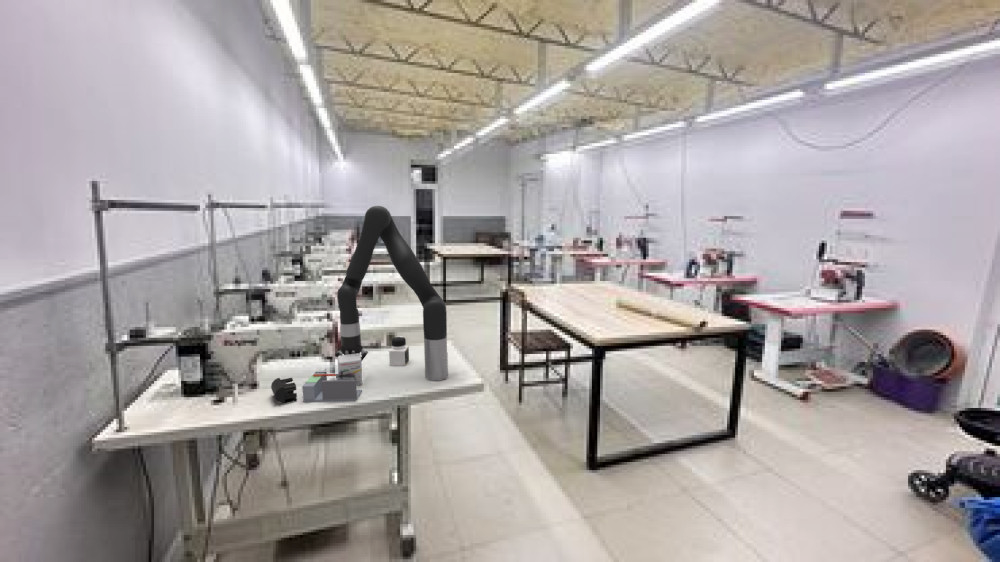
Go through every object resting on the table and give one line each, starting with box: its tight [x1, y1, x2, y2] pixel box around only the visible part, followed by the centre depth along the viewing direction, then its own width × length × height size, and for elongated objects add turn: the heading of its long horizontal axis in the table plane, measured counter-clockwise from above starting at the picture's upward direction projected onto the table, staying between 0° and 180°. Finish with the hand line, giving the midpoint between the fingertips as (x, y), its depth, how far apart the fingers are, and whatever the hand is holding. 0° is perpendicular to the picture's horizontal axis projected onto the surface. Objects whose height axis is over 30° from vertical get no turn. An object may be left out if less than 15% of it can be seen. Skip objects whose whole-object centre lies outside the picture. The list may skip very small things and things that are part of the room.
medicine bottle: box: [388, 335, 410, 367], centre depth 193 cm, size 7×7×12 cm
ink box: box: [337, 353, 363, 386], centre depth 169 cm, size 8×5×12 cm, turn 114°
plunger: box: [312, 373, 355, 380], centre depth 164 cm, size 15×4×6 cm, turn 93°
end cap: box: [270, 377, 298, 405], centre depth 158 cm, size 10×7×7 cm
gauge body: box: [301, 371, 363, 403], centre depth 162 cm, size 19×14×8 cm
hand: (353, 374), depth 174 cm, fingers closed
